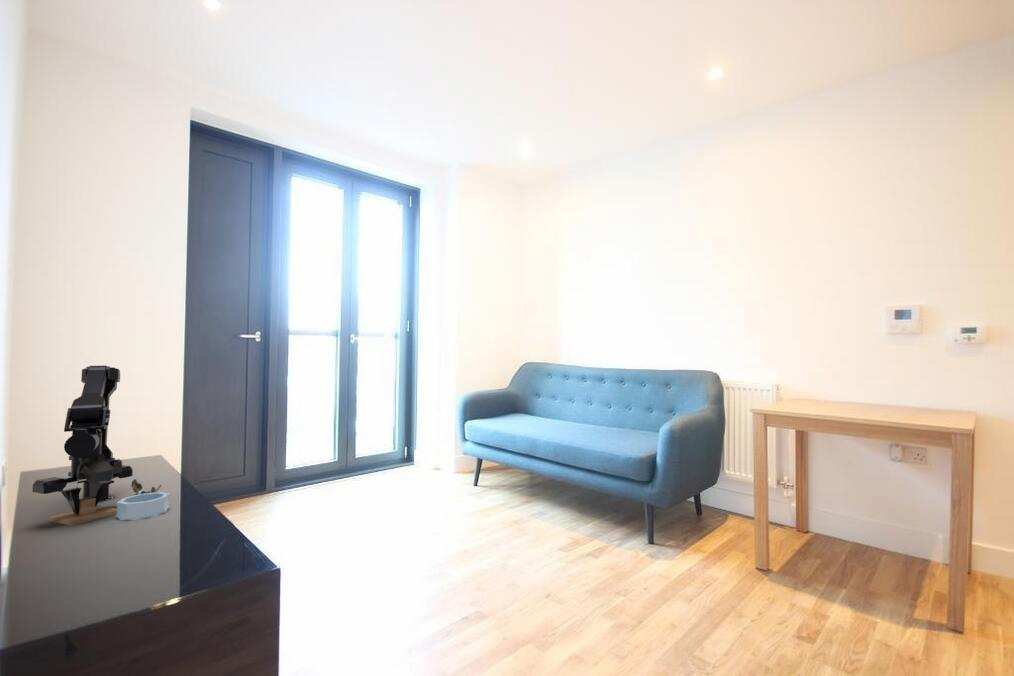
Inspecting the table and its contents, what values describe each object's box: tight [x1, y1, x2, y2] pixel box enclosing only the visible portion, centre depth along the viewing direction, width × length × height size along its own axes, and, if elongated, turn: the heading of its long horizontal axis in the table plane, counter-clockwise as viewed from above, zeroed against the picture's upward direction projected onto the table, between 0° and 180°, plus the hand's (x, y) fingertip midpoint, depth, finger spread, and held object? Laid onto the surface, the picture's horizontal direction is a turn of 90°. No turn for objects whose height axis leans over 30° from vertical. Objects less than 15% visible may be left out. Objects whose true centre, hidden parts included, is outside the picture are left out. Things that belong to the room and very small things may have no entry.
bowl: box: [116, 491, 170, 521], centre depth 120 cm, size 10×10×4 cm
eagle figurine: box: [128, 478, 162, 497], centre depth 130 cm, size 8×7×9 cm
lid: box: [48, 497, 117, 527], centre depth 118 cm, size 10×10×4 cm
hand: (84, 512), depth 118 cm, fingers closed on lid, 3 cm apart
